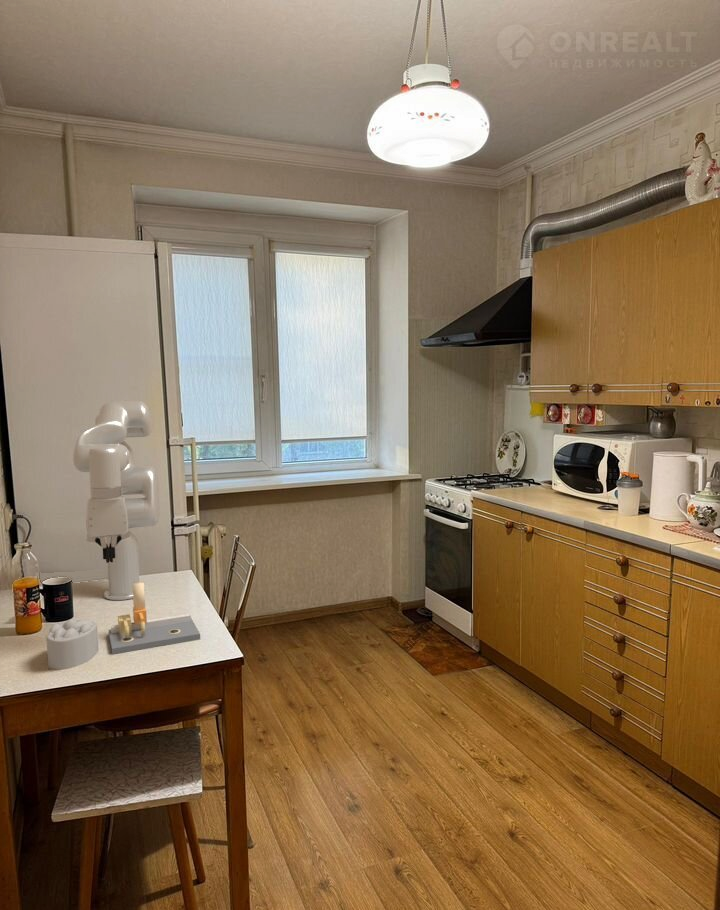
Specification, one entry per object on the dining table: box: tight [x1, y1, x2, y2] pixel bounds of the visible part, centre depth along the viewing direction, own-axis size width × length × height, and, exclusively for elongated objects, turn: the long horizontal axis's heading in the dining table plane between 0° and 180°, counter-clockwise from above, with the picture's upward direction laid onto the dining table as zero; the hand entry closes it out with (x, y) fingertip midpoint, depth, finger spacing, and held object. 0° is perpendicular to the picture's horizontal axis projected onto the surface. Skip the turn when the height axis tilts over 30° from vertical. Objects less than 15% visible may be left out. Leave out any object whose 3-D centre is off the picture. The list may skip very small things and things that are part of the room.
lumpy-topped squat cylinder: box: [46, 619, 99, 671], centre depth 157 cm, size 10×13×9 cm
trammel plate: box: [108, 613, 201, 655], centre depth 170 cm, size 14×22×5 cm, turn 115°
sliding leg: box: [132, 581, 148, 636], centre depth 170 cm, size 10×3×12 cm, turn 25°
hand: (109, 561), depth 167 cm, fingers closed
